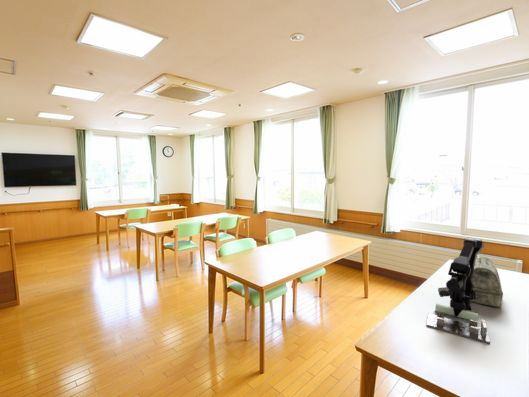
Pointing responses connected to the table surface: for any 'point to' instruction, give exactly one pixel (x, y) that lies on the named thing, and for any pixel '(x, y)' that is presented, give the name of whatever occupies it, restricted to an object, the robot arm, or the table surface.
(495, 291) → the lunch bag
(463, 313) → the tube
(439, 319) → the saddle plate
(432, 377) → the table surface
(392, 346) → the table surface
